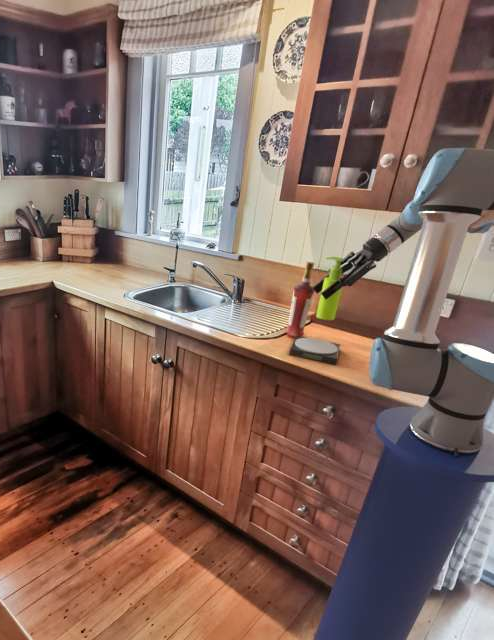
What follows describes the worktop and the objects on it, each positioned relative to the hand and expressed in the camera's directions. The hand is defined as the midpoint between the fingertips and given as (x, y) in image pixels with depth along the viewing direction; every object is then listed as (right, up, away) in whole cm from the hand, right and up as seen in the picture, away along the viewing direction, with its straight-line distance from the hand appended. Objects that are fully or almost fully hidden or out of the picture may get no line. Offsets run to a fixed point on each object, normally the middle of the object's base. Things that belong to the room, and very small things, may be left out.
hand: (319, 293), depth 154 cm
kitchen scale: (+3, -19, +10) cm, 22 cm away
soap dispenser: (+3, -8, +4) cm, 9 cm away
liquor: (0, -12, +24) cm, 27 cm away
